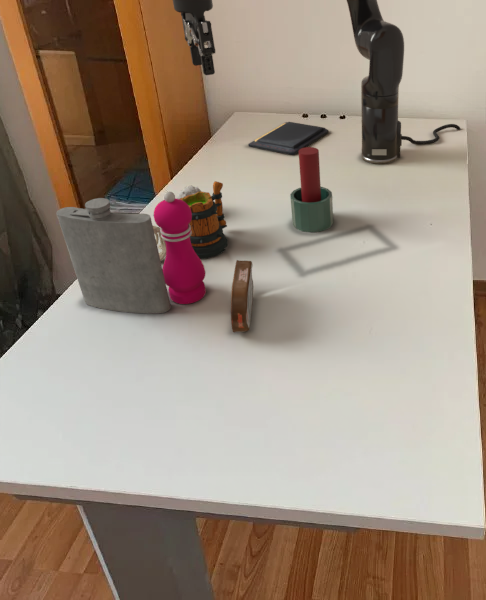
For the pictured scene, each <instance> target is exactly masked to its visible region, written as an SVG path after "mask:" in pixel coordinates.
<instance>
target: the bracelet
mask: <svg viewBox="0 0 486 600" xmlns="http://www.w3.org/2000/svg"><path fill="white" fill-rule="evenodd" d="M152 226H153V230H154V234H155V239H156V243H157V248H158V250H161V251H159V256H160V261H161V262H162V261H163V260H164V259H165V258H166V243H165V240H164V239H162V237H161V233H160V227H159V226H157V225H153V224H152ZM159 243H160V244H159Z"/></svg>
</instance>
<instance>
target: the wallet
mask: <svg viewBox="0 0 486 600" xmlns="http://www.w3.org/2000/svg"><path fill="white" fill-rule="evenodd" d="M328 133H330V131H329V129H327V128H326V127H323V126H318V125H311V124H305V123H300V122H295V121H286V122H284V123H282V124H280V125H278V126H277V127H275V128H273V129H271V130H270V131H268V132H266V133H264V134H263V135H261V136H259V137H258V138H256V139H254V140H253V141H251V142H249V143H248V147H249V148H250V147H251V148H255V149H257V150H258V149H259V150H264V151H269V152H274V153H279V154H284V155H290V156H295V155H297V154H299V150H300V149H301V148H305V147H310V146H311V145H313V144H314V143H315V142H316V141H318V140H320V139H321V138H323V137H324V136H326V135H327V134H328Z"/></svg>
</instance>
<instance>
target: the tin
mask: <svg viewBox="0 0 486 600" xmlns="http://www.w3.org/2000/svg"><path fill="white" fill-rule="evenodd" d="M253 306H254V280H253V262H252V260H239V259H236V261H235V266H234V272H233V278H232V283H231V291H230V324H231V331H232V333H236V332H237V333H238V332H241V333H242V332H243V333H244V332H245V333H246V332H249V331H250V328H251V322H252V314H253Z"/></svg>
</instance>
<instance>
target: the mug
mask: <svg viewBox="0 0 486 600" xmlns="http://www.w3.org/2000/svg"><path fill="white" fill-rule="evenodd" d="M223 187H224V184H223V182H220V181H215V180H214V182H213V184H212V195H211V193H210V192H206V191H202V190H201V191H199V192H197V193H195V194H191V195H188V196H185V197H183V198H180V200H182V201H184V202H186V203H187V204H188V206H189V207H190V209H191V213H192V219H191V221H190V223H189V224H190V226H191V231H192V234H191V236H190V241H191V245H192V247H193V249H194V251H195V253H196V254H197V256H198V257H199V258H200V260H206V259H212V258H214V257H217V256H219V255H221V254H223V253H225V251H226V248H227V247H228V243H229V240H228V238H227V237H226V235H225V233H224V230H223V229H225V228H228V225H227V221H226V219H225V218H226V217H225V214H224V213H223V210H224V208H223V200H222V198H223V193H222V192H221V191H222V189H223Z"/></svg>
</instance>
